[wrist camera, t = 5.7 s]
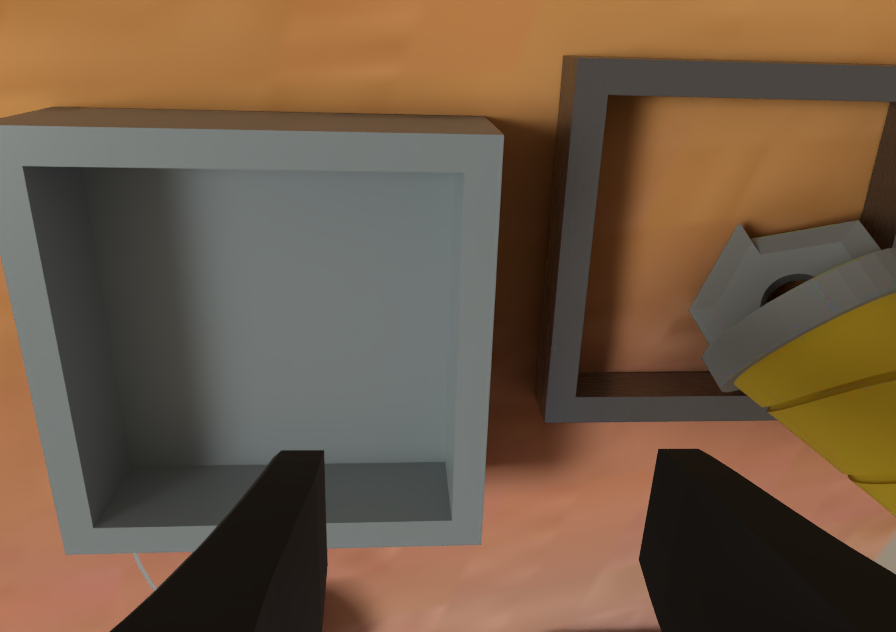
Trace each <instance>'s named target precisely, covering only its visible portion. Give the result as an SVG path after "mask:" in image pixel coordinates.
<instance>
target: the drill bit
mask: <svg viewBox="0 0 896 632" xmlns="http://www.w3.org/2000/svg"><path fill="white" fill-rule="evenodd" d="M799 280H803V281H806V282H804V283H803V284H801V285H799V286H797V287H795V288H793V289H791V290H789V291H788V292H786V293H784V294H782V295H781V296H779V297H777V298H775V299H774V300H772V301H770V302H769V303H767V304H766V302H767V299H768V298H769V296H770V295H771V293H772V292H773V291H774V290H775V289H777V288H778V287H780V286H781V285H783V284H786V283H788V282H792V281H799ZM689 312H690V313H691V315H692V317H693V318H694V320H695V322H696V323H697V325H698V326H699V328H700V330H701V331H702V333H703V335H704V336H705V338H706V340H707V341H708V343H709V345H710V346H709V347H708V348H707V349H706V350H705V352H704V353H703V356H702V359H703V361H704V363H705V364H706V366H707V368H708V369H709V371H710V373H711V374H712V376H713V378H714V379H715V381H716V383H717V384H718V386H719V388H720V389H721V391H722V392H732V391H736V390H741V391H742V392H744V393H745V394H746V395H747V396H748V397H750V398H751V399H752V400H753V401H755V402H756V403H757V404H758V405H760V406H761V407H768V406H770V407H769V408H768V409H767V412H768V413H769V414H771V415H772V416H773V417H774V418H775V419H777V420H778V421H779V422H780V423H782V424H783V425H784V426H785V427H786V428H788V429H789V430H790V431H791V432H793V433H794V434H795V435H796V436H797V437H799V438H800V439H801V440H802V441H804V442H805V443H806V444H807V445H808V446H810V447H811V448H812V449H813V450H815V451H816V452H817V453H818V454H819V455H821V456H822V457H823V458H824V459H826V460H827V461H828V462H829V463H831V464H832V465H833V466H834V467H835V468H837V469H838V470H839V471H840V472H842V473H844V474H847V475H848V477H849V479H850V480H851V481H853V482H854V483H855V484H856V485H857V486H859V487H860V488H861V489H862V490H864V491H865V492H866V493H867V494H868V495H870V496H871V497H872V498H873V499H875V500H876V501H877V502H878V503H879V504H881V505H882V506H883V507H884V508H886V509H887V510H888V511H889V512H891V513H892V514H893V515H894V516H895V517H896V248H887V249H884V250H881V249H880V247H879V246H878V245H877V243H876V242H875V241H874V240H873V238H872V237H871V236H870V234H869V233H868V232H867V230H866V229H865V228H864V226H863V225H862V224H861V222H860V221H859V220H856V221H850V222H844V223H839V224H833V225H827V226H821V227H815V228H810V229H804V230H798V231H792V232H787V233H781V234H775V235H769V236H763V237H758V238H752V239H750V237H749V236H748V234H747V233H746V231H745V230H744V229H743V227H742V226H741V224H740V223H739V224H738V225H737V227H736V229H735V230H734V232H733V234H732V236H731V237H730V239H729V241H728V243H727V244H726V246H725V248H724V250H723V251H722V253H721V255H720V257H719V258H718V260H717V262H716V264H715V265H714V267H713V269H712V270H711V272H710V274H709V276H708V277H707V279H706V281H705V283H704V284H703V286H702V288H701V290H700V291H699V293H698V295H697V297H696V298H695V300H694V302H693V304H692V305H691V307H690V309H689Z"/></svg>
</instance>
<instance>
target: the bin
mask: <svg viewBox="0 0 896 632" xmlns="http://www.w3.org/2000/svg"><path fill="white" fill-rule="evenodd" d="M503 146H504V134H503V133H502V132H500V131H499V130H498V129H497V128H496V127H495V126H494V125H493V124H492V123H491V122H490V121H489V120H488V119H487V118H486V117H485V116H452V115H405V114H358V113H311V112H264V111H217V110H170V109H123V108H76V107H50V108H45V109H41V110H36V111H32V112H27V113H22V114H18V115H13V116H9V117H4V118H0V255H1V260H2V265H3V269H4V274H5V278H6V283H7V288H8V292H9V297H10V301H11V306H12V311H13V315H14V320H15V324H16V329H17V334H18V338H19V343H20V347H21V352H22V357H23V361H24V366H25V370H26V375H27V380H28V384H29V389H30V393H31V398H32V403H33V407H34V412H35V416H36V421H37V425H38V430H39V435H40V439H41V444H42V448H43V453H44V458H45V462H46V467H47V471H48V476H49V481H50V485H51V490H52V494H53V499H54V504H55V508H56V513H57V517H58V522H59V527H60V531H61V536H62V540H63V545H64V550H65V554H66V555H73V554H115V553H157V552H194V551H195V550H196V549H197V548H198V547H199V546H200V545H201V544H202V543H203V541H204V540H205V539H206V538H207V537H208V536H209V535H210V534H211V532H212V531H213V530H214V529H215V528H216V527H217V526H218V525H219V523H220V522H221V521H222V520H223V519H224V518H225V517H226V516H227V514H228V513H229V512H230V511H231V510H232V509H233V508H234V506H235V505H236V504H237V503H238V502H239V500H240V499H241V498H242V497H243V495H244V494H245V493H246V492H247V491H248V489H249V488H250V487H251V486H252V484H253V483H254V482H255V481H256V479H257V478H258V477H259V476H260V474H261V473H262V472H263V470H264V469H265V468H266V466H267V465H268V464H269V463H270V461H271V460H272V459H273V457H274V456H275V455H277V454H278V453H279V452H280V451H281V450H324V462H325V496H326V530H327V548H366V547H408V546H450V545H481V537H482V519H483V501H484V484H485V466H486V448H487V430H488V412H489V395H490V377H491V359H492V341H493V323H494V306H495V288H496V270H497V252H498V235H499V217H500V199H501V181H502V163H503Z"/></svg>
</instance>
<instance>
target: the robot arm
mask: <svg viewBox="0 0 896 632" xmlns="http://www.w3.org/2000/svg"><path fill="white" fill-rule="evenodd" d="M639 562H640V565H641V569H642V572H643V575H644V579H645V582H646V586H647V589H648V592H649V596H650V599H651V602H652V605H653V608H654V611H655V614H656V617H657V620H658V623H659V625H660V628H661V630H662V632H896V574H894V573H892V572H891V571H889V570H887V569H886V568H884V567H882V566H881V565H879V564H877V563H876V562H874V561H872V560H871V559H869V558H867V557H866V556H864V555H862V554H861V553H859V552H857V551H856V550H854V549H852V548H851V547H849V546H848V545H846V544H844V543H843V542H841V541H840V540H838V539H837V538H835V537H833V536H832V535H830V534H829V533H827V532H826V531H824V530H822V529H821V528H819V527H818V526H816V525H815V524H813V523H812V522H810V521H809V520H807V519H806V518H804V517H803V516H801V515H800V514H798V513H796V512H795V511H793V510H792V509H790V508H789V507H787V506H786V505H785V504H783V503H782V502H780V501H779V500H777V499H776V498H774V497H773V496H771V495H770V494H768V493H767V492H765V491H764V490H762V489H761V488H759V487H758V486H756V485H755V484H753V483H752V482H750V481H749V480H747V479H746V478H744V477H743V476H741V475H740V474H738V473H737V472H735V471H734V470H732V469H731V468H729V467H728V466H726V465H725V464H723V463H721V462H720V461H718V460H717V459H715V458H713V457H712V456H710V455H708V454H707V453H705V452H703V451H701V450H699V449H658V454H657V460H656V465H655V471H654V477H653V482H652V488H651V494H650V499H649V505H648V511H647V516H646V522H645V528H644V533H643V539H642V544H641V550H640V556H639ZM327 565H328V564H327V530H326V496H325V462H324V450H281V451H280V452H279V453H278V454H277V455H275V456H274V457H273V459H272V460H271V461H270V463H269V464H268V465H267V466H266V468H265V469H264V470H263V472H262V473H261V474H260V476H259V477H258V478H257V479H256V481H255V482H254V483H253V484H252V486H251V487H250V488H249V489H248V491H247V492H246V493H245V494H244V495H243V497H242V498H241V499H240V500H239V502H238V503H237V504H236V505H235V506H234V508H233V509H232V510H231V511H230V512H229V513H228V514H227V516H226V517H225V518H224V519H223V520H222V521H221V522H220V523H219V525H218V526H217V527H216V528H215V529H214V530H213V531H212V532H211V534H210V535H209V536H208V537H207V538H206V539H205V540H204V541H203V543H202V544H201V545H200V546H199V547H198V548H197V549H196V550H195V551H194V552H193V553H192V554H191V555H190V556H189V557H188V558H187V559H186V560H185V561H184V562H183V563H182V564H181V565H180V566H179V567H178V568H177V569H176V570H175V571H174V572H173V573H172V574H171V575H170V576H169V577H168V578H167V579H166V580H165V581H164V582H163V583H162V584H161V585H160V586H159V587H158V588H157V589H156V590H155V591H154V592H153V593H152V594H151V595H150V596H149V597H148V598H147V599H146V600H145V601H144V602H142V603H141V604H140V605H139V606H138V607H137V608H136V609H135V610H134V611H133V612H132V613H130V614H129V615H128V616H127V617H126V618H125V619H124V620H123V621H122V622H120V623H119V624H118V625H117V626H116V627H115V628H113V629H112V630H111V631H110V632H321V631H322V621H323V610H324V600H325V588H326V576H327Z"/></svg>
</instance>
